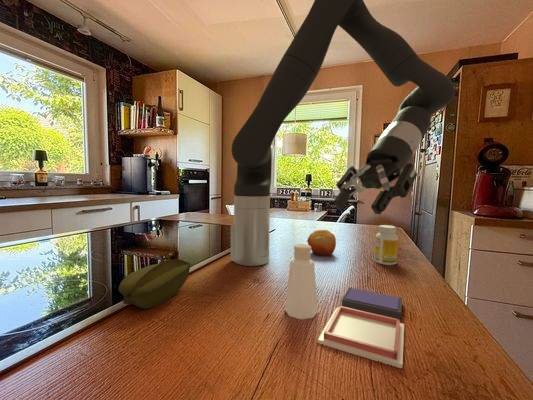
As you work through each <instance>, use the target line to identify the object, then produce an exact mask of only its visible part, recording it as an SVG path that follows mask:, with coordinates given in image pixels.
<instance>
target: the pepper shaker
mask: <svg viewBox="0 0 533 400" xmlns="http://www.w3.org/2000/svg"><path fill="white" fill-rule="evenodd" d="M293 250H294V251H293V255H294V257H293V259H291V260H290V263H289V270H288V279H287V285H286V286H287V288H286V296H285V303H284V311H285V312H286V313H287V315H288V317H291V318H294V319H297V320H310V319H314V318H315V316H316V315H317V313H319V307H318V297H317V296H318V295H317V284H316V272H315V262H314V261H313V259H311V253H312V250H311V246H310V245H308V243H307V244H306V243H297V244H295V245H294V246H293Z"/></svg>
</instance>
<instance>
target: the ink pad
mask: <svg viewBox="0 0 533 400" xmlns="http://www.w3.org/2000/svg"><path fill="white" fill-rule="evenodd" d="M402 303H403V297H400V296H395V295H390V294H384V293H379V292H374V291H370V290H364V289H359V288H355V287H349V288H348V289H347V290H346V292H345V293H344V296H343V297H342V299H341V306H343V307H347V308H352V309H356V310H360V311H365V312H369V313H374V314H378V315H382V316H387V317H391V318H395V319H400V321H401V320H402V306H403V305H402Z"/></svg>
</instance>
